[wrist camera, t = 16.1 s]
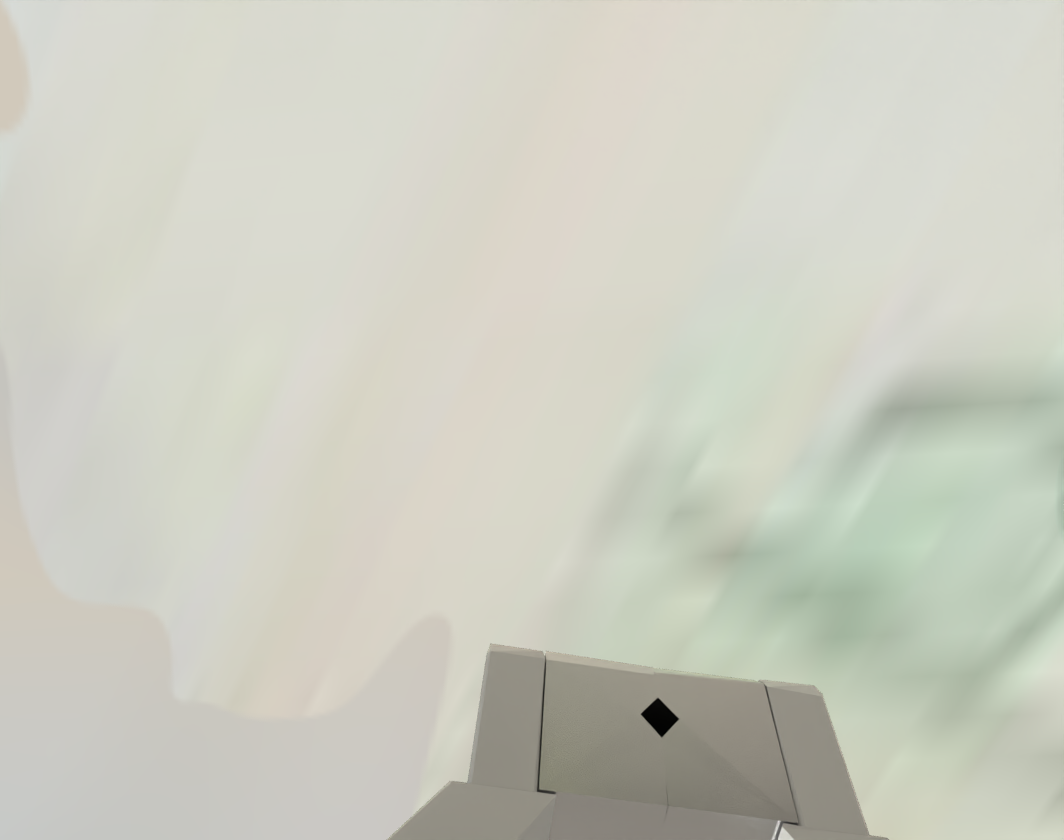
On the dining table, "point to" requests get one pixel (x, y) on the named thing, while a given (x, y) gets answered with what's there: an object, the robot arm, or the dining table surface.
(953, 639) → the dining table surface
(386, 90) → the dining table surface
